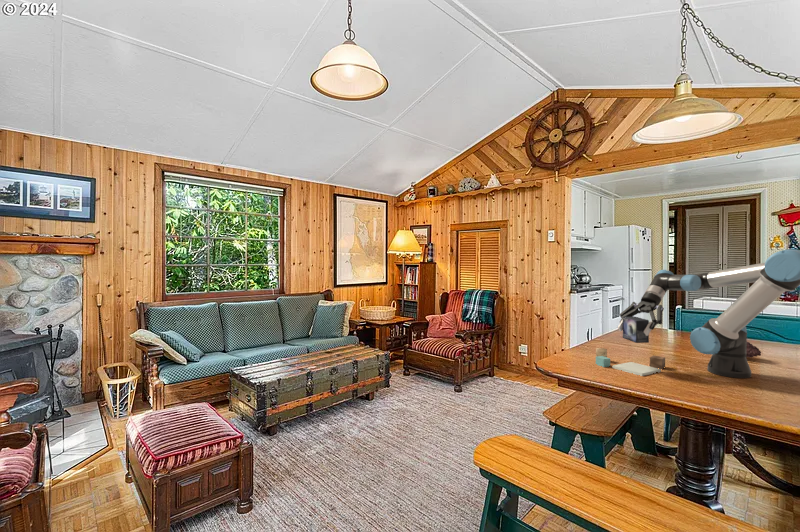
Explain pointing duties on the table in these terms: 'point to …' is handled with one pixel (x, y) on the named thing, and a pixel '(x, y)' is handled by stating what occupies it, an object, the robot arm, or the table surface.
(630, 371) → the tile
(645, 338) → the small box
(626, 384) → the table surface
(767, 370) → the table surface
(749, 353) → the pine cone
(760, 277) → the robot arm
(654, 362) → the walnut block
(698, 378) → the table surface
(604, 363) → the teal block
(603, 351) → the oak cylinder
